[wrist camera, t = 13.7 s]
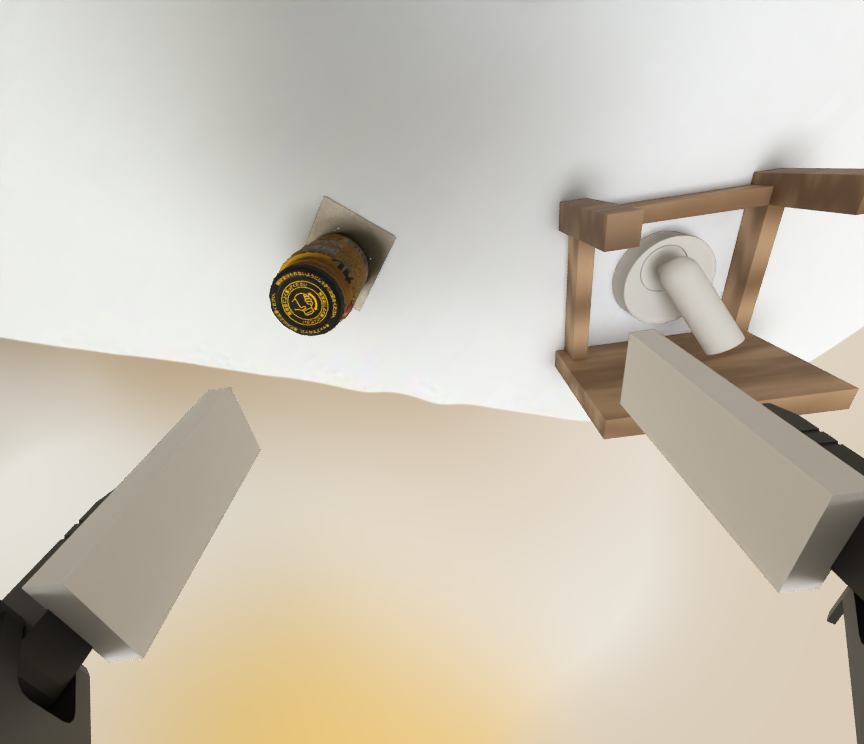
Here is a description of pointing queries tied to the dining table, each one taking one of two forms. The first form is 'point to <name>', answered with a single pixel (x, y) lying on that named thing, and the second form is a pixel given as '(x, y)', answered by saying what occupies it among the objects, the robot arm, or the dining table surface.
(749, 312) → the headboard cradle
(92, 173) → the dining table surface
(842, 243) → the dining table surface
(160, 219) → the dining table surface
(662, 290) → the wall hook
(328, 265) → the condiment
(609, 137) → the dining table surface
